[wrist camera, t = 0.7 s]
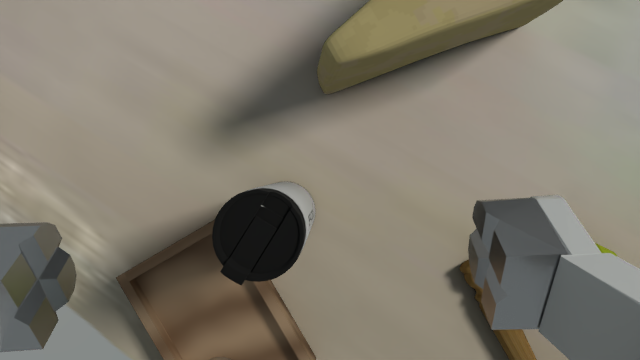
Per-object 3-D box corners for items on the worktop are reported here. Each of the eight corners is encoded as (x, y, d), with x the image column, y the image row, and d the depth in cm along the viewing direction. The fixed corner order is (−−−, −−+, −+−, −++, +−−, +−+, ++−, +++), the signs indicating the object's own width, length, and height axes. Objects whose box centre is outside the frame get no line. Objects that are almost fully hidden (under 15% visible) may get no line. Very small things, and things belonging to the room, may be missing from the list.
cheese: (344, 130, 52) (348, 114, 37) (299, 49, 52) (285, 1, 37) (530, 25, 51) (611, -34, 36) (485, -57, 51) (547, -149, 36)
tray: (315, 357, 53) (314, 367, 50) (211, 416, 53) (205, 430, 51) (230, 211, 53) (225, 213, 50) (126, 272, 53) (115, 277, 50)
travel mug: (244, 223, 53) (188, 256, 33) (276, 170, 52) (241, 171, 32) (294, 254, 53) (269, 306, 33) (326, 201, 52) (322, 221, 32)
